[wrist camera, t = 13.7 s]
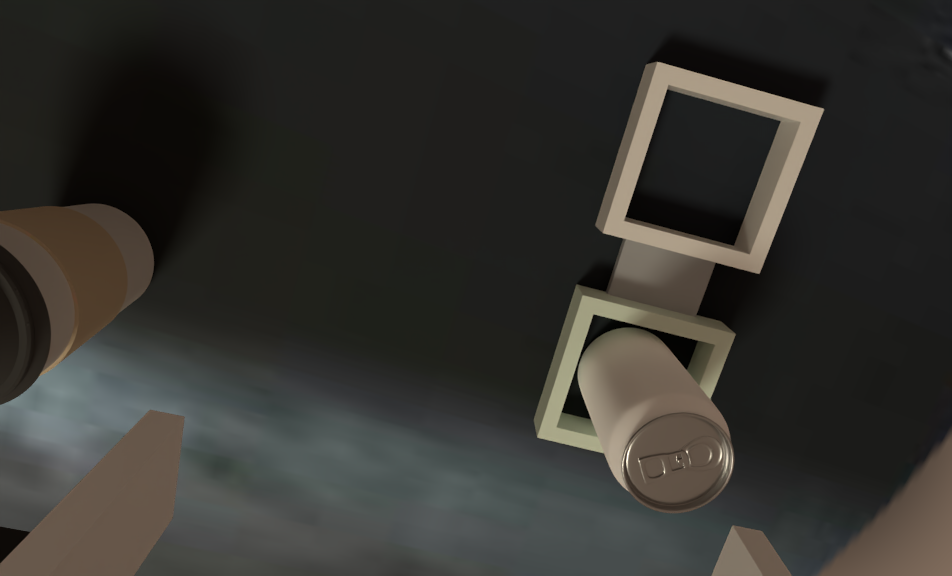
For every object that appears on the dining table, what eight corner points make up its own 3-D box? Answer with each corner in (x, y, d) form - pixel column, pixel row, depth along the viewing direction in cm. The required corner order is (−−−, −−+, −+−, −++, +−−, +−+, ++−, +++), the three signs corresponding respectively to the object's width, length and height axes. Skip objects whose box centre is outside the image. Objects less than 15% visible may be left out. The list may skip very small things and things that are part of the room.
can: (681, 398, 44) (755, 501, 33) (590, 425, 45) (631, 535, 33) (659, 312, 43) (728, 389, 31) (565, 341, 43) (598, 426, 32)
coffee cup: (183, 210, 41) (25, 267, 26) (159, 340, 43) (1, 458, 29) (38, 167, 40) (-207, 202, 26) (21, 302, 42) (-213, 403, 28)
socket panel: (646, 64, 39) (657, 61, 36) (802, 109, 39) (824, 109, 37) (533, 419, 45) (537, 437, 42) (670, 452, 46) (681, 471, 43)
